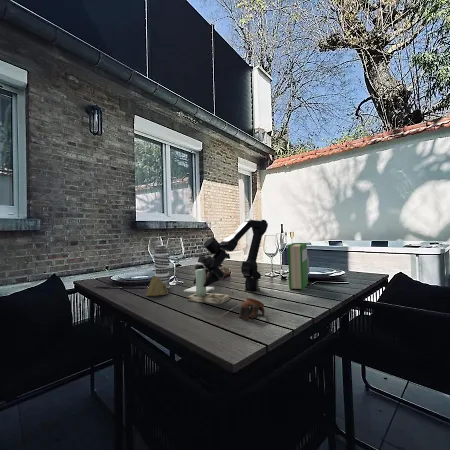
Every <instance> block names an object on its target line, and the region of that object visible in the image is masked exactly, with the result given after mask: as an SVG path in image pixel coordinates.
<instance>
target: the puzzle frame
mask: <svg viewBox="0 0 450 450" xmlns="http://www.w3.org/2000/svg"><path fill="white" fill-rule="evenodd" d="M230 298H231V297H230V294H221V293H210V292H206V297H196V293H193V294H191V295H188V296H187V301H189V302H195V303H196V302H197V303H207V304H208V303H209V304H216V305H217V304H218V305H221V304H224V303H225V302H227V301H229V300H230Z"/></svg>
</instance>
